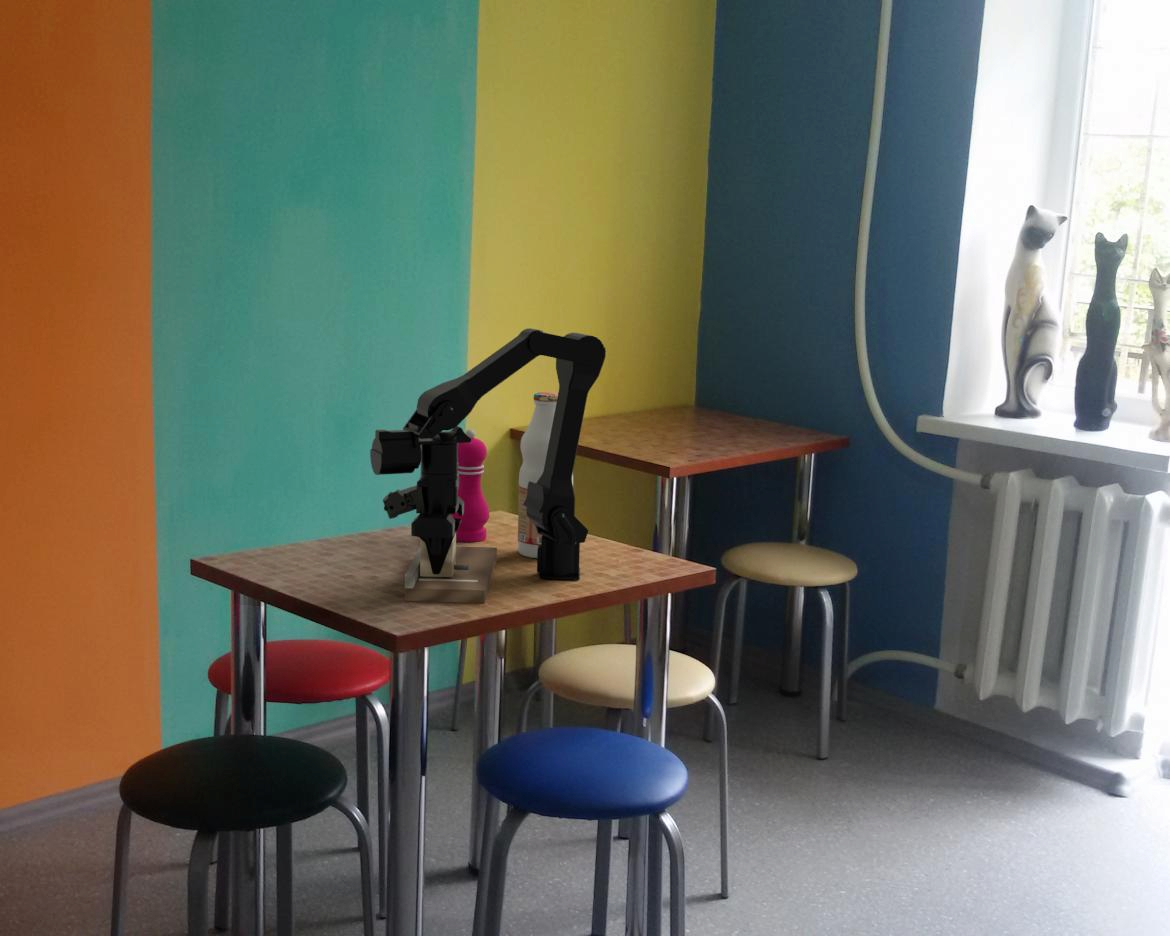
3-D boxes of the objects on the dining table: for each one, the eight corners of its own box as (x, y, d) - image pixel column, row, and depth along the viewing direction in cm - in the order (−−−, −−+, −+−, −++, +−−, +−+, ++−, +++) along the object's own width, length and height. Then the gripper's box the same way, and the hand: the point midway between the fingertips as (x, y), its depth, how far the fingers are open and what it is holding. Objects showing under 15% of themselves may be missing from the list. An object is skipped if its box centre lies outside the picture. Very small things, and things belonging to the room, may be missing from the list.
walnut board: (496, 558, 236) (497, 536, 235) (484, 603, 208) (484, 577, 207) (426, 557, 236) (426, 534, 235) (404, 600, 208) (404, 575, 207)
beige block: (469, 569, 219) (469, 532, 218) (466, 577, 214) (466, 539, 213) (424, 568, 219) (424, 531, 218) (420, 576, 214) (420, 538, 213)
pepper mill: (451, 543, 246) (452, 432, 243) (447, 534, 253) (448, 426, 250) (491, 542, 248) (493, 432, 244) (486, 533, 255) (487, 426, 251)
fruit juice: (506, 553, 239) (509, 393, 235) (539, 544, 247) (543, 389, 242) (549, 562, 234) (553, 398, 229) (582, 553, 242) (586, 393, 237)
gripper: (395, 460, 223) (395, 554, 225) (377, 481, 204) (377, 583, 207) (464, 462, 223) (463, 556, 225) (452, 483, 204) (451, 585, 207)
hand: (438, 569), depth 216 cm, fingers closed on beige block, 5 cm apart
